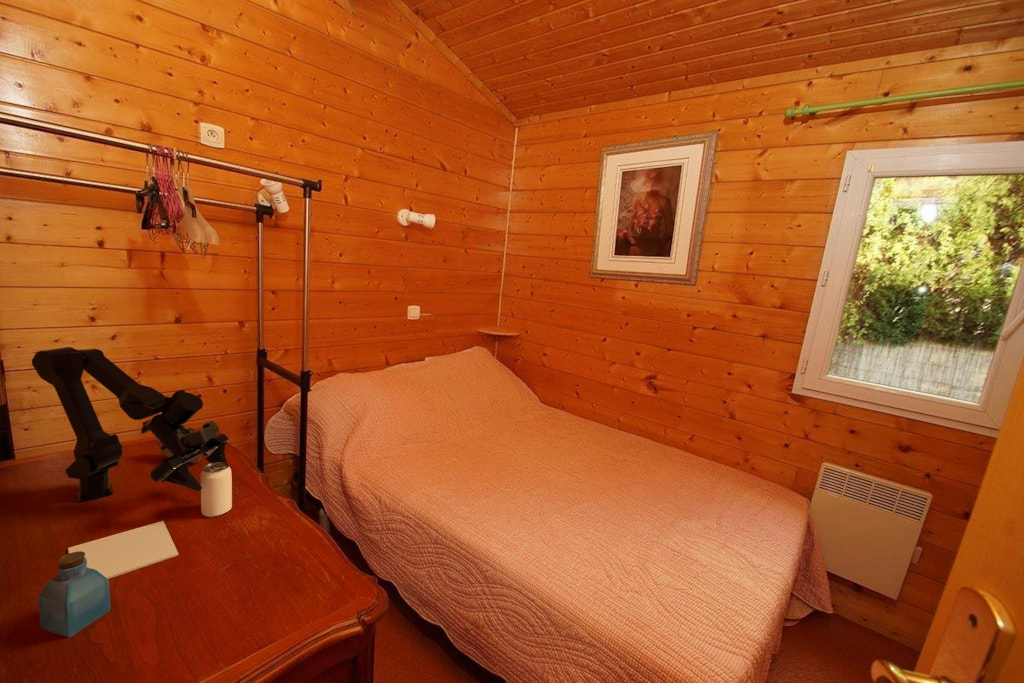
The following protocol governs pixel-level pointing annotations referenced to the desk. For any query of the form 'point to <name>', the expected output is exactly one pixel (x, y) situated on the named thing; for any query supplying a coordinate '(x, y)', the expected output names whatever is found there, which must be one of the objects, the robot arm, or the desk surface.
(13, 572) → the desk surface
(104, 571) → the beige mat
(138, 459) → the desk surface
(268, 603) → the desk surface
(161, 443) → the wooden carving
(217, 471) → the can
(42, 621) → the perfume bottle
